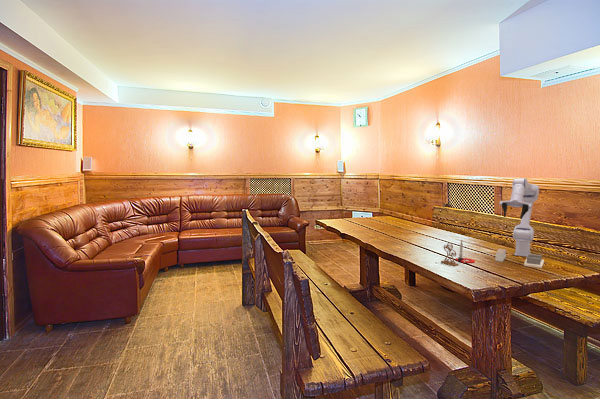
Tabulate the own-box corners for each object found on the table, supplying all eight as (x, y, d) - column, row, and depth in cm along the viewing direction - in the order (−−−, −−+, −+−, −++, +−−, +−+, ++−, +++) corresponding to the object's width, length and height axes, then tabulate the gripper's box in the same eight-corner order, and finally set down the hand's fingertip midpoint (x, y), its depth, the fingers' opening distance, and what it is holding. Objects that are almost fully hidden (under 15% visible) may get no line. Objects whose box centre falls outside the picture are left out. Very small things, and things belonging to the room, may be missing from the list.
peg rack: (526, 259, 190) (527, 252, 190) (543, 261, 185) (544, 254, 184) (523, 265, 178) (524, 258, 177) (542, 268, 173) (542, 260, 172)
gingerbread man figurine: (458, 265, 181) (459, 244, 180) (453, 266, 179) (454, 245, 178) (445, 261, 189) (445, 241, 188) (440, 262, 187) (440, 242, 186)
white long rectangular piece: (498, 256, 197) (499, 248, 197) (505, 257, 195) (505, 249, 194) (495, 261, 188) (495, 252, 187) (502, 262, 186) (502, 253, 185)
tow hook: (467, 259, 194) (454, 260, 192) (468, 238, 193) (455, 238, 191) (478, 263, 186) (464, 264, 183) (479, 241, 185) (466, 241, 182)
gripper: (501, 191, 185) (496, 211, 180) (532, 193, 175) (528, 215, 170) (502, 198, 190) (497, 218, 184) (532, 201, 180) (528, 222, 175)
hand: (512, 217), depth 178 cm, fingers open, 7 cm apart
